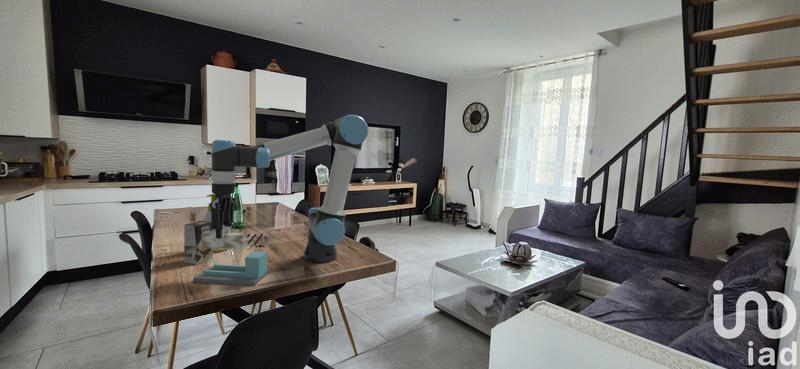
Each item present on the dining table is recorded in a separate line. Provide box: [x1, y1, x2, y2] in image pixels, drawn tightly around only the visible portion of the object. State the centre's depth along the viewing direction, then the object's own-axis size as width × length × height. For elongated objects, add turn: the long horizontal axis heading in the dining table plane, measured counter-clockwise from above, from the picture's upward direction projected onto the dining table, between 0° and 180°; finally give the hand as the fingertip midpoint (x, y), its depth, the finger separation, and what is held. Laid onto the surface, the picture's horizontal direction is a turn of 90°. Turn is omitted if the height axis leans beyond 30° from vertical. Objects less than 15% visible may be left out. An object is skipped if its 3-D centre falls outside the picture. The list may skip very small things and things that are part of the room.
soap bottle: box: [203, 193, 228, 254], centre depth 157 cm, size 11×12×26 cm
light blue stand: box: [192, 250, 271, 286], centre depth 127 cm, size 22×14×9 cm, turn 90°
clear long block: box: [202, 231, 248, 250], centre depth 127 cm, size 15×4×5 cm, turn 90°
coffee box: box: [183, 220, 214, 265], centre depth 142 cm, size 9×6×16 cm
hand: (222, 244), depth 127 cm, fingers closed on clear long block, 3 cm apart
